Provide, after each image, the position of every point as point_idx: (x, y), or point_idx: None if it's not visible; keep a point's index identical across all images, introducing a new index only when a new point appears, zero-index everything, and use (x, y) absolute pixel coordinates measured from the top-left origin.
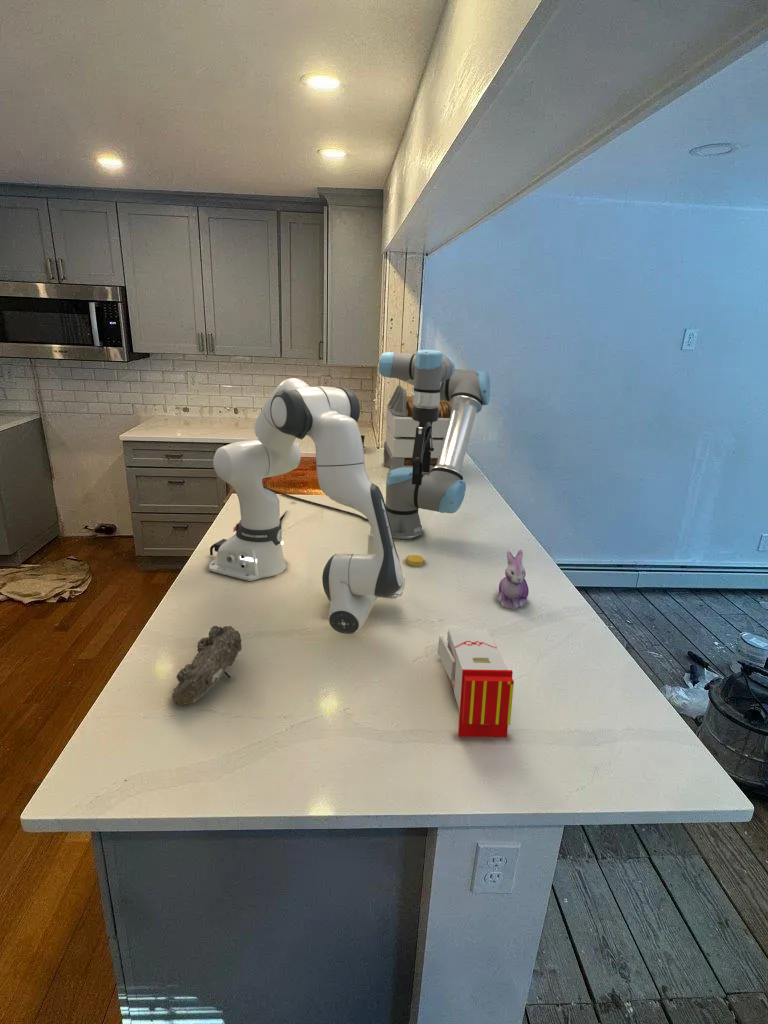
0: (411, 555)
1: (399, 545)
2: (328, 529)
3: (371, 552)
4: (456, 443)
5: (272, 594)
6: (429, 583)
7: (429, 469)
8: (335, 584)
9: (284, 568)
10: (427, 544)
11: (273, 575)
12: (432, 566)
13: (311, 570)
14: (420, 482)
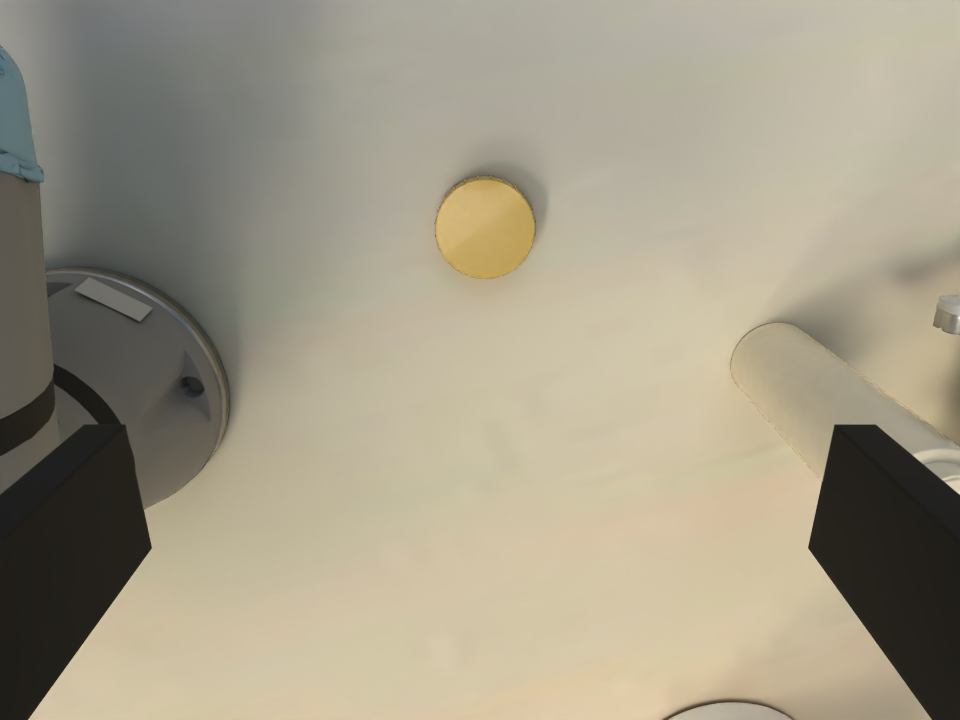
0: (456, 258)
1: (289, 352)
2: (254, 687)
3: None
4: None
5: None
6: (720, 96)
7: (94, 454)
8: None
9: (728, 707)
10: (200, 205)
11: (788, 717)
12: (498, 119)
13: (701, 621)
14: (899, 454)
